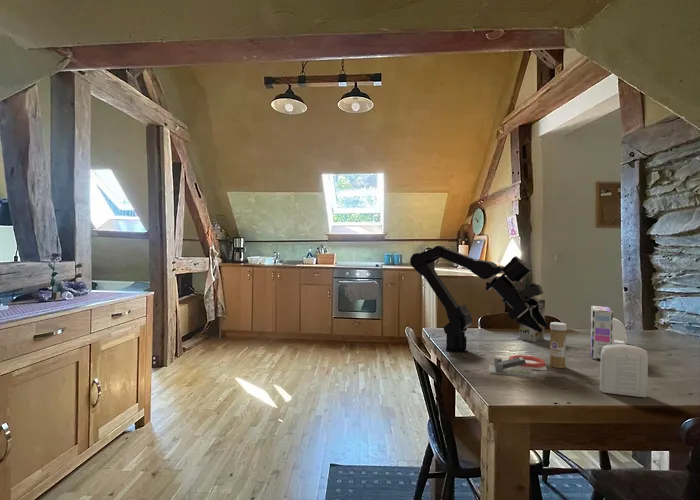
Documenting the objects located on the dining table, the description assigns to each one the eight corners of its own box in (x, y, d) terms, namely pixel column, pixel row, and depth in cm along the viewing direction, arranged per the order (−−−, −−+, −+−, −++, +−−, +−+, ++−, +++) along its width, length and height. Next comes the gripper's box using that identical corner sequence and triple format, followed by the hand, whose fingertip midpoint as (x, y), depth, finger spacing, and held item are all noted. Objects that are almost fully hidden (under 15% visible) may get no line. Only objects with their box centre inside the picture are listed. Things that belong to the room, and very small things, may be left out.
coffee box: (535, 342, 158) (535, 301, 158) (518, 339, 163) (519, 299, 163) (544, 338, 164) (545, 299, 164) (528, 336, 169) (529, 297, 169)
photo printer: (643, 393, 103) (644, 344, 103) (650, 399, 99) (651, 348, 99) (597, 388, 106) (598, 341, 106) (602, 394, 102) (603, 345, 102)
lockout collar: (511, 367, 124) (511, 362, 124) (508, 359, 133) (508, 354, 133) (547, 370, 121) (547, 365, 121) (541, 361, 131) (541, 356, 131)
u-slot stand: (626, 343, 158) (626, 316, 158) (623, 353, 144) (624, 322, 144) (597, 340, 164) (598, 313, 164) (592, 348, 150) (592, 319, 150)
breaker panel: (490, 373, 117) (490, 363, 117) (488, 366, 124) (489, 357, 124) (535, 377, 114) (535, 367, 114) (531, 370, 121) (531, 360, 121)
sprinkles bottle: (547, 366, 125) (548, 323, 125) (551, 363, 129) (552, 321, 129) (564, 369, 122) (564, 325, 122) (567, 366, 126) (568, 323, 126)
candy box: (612, 361, 132) (613, 311, 132) (591, 359, 134) (592, 309, 134) (609, 352, 144) (610, 306, 144) (590, 350, 147) (590, 304, 146)
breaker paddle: (496, 366, 118) (524, 359, 116) (495, 362, 122) (522, 356, 120) (498, 370, 118) (526, 364, 116) (497, 366, 122) (524, 360, 120)
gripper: (519, 276, 123) (559, 316, 117) (533, 273, 138) (569, 309, 132) (493, 300, 128) (530, 340, 122) (508, 295, 143) (542, 330, 137)
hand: (544, 328), depth 128 cm, fingers open, 9 cm apart
